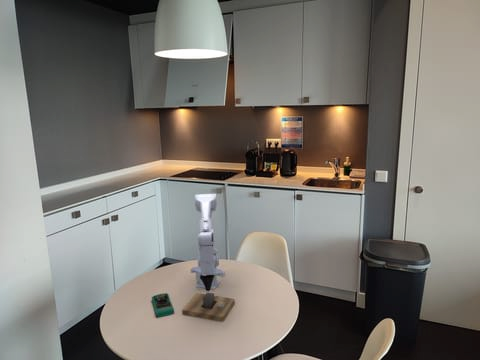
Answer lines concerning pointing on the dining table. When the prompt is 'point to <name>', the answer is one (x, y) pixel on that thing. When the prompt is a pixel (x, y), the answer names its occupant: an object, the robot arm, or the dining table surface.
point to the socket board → (215, 313)
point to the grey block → (208, 300)
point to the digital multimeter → (162, 305)
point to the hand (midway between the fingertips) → (208, 290)
